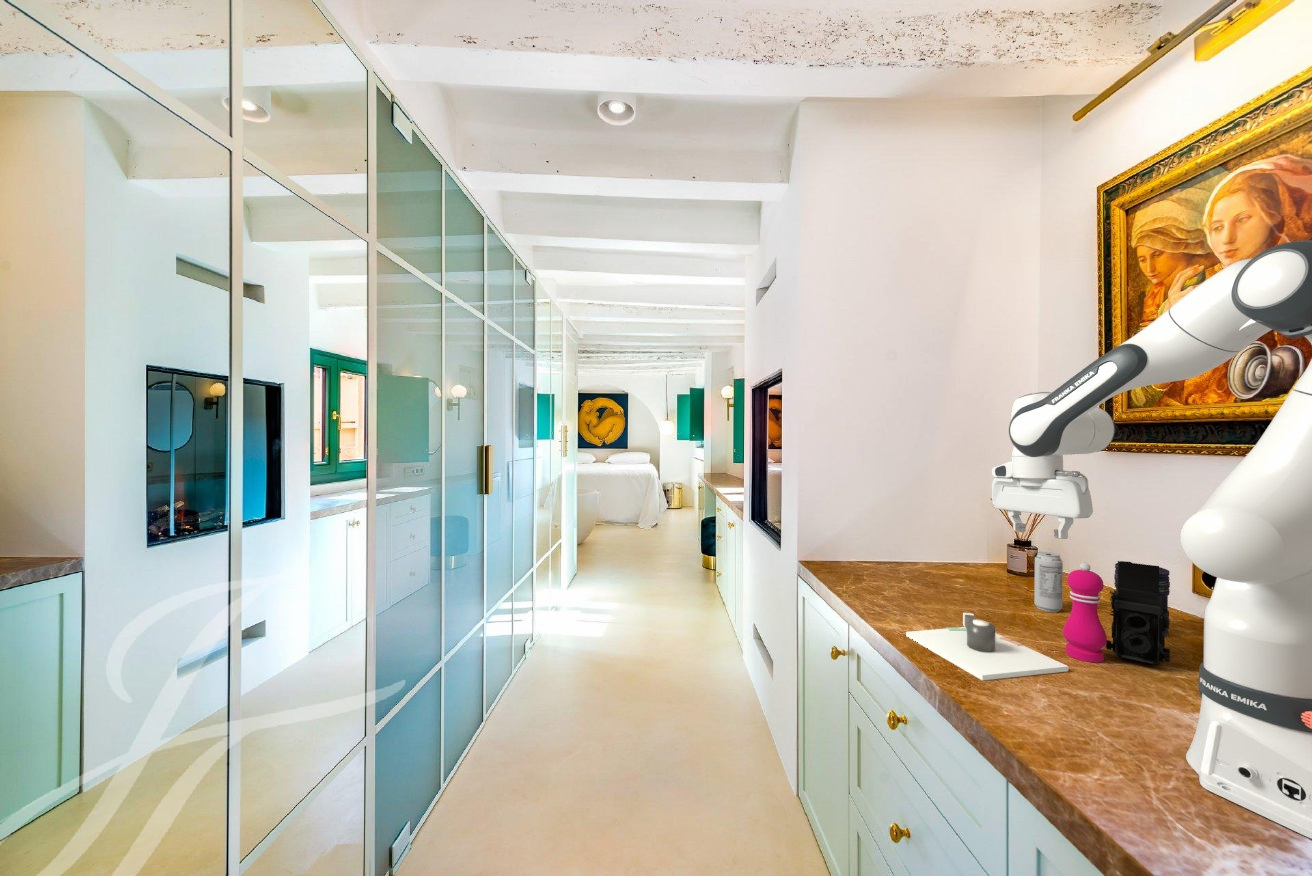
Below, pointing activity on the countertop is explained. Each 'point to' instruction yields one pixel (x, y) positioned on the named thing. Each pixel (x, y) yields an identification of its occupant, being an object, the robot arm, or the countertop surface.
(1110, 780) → the countertop surface
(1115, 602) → the camera
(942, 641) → the tuner board
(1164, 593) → the storage jar
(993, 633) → the dial
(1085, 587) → the pepper mill
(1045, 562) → the energy drink can
